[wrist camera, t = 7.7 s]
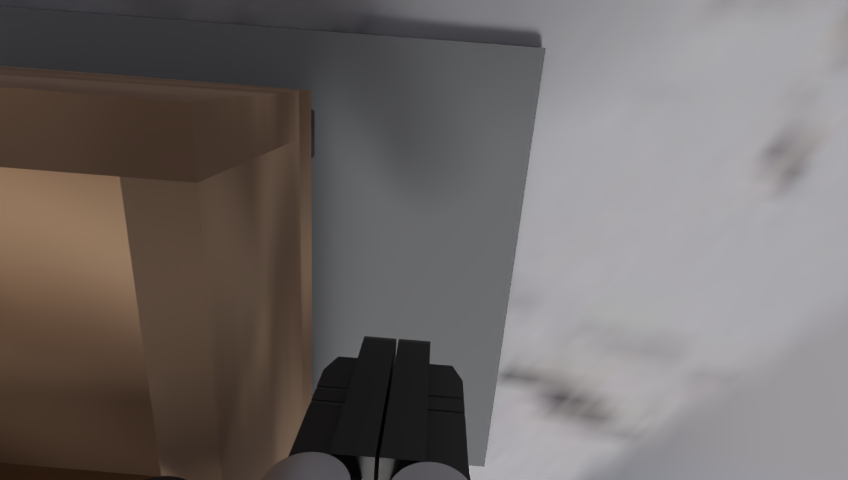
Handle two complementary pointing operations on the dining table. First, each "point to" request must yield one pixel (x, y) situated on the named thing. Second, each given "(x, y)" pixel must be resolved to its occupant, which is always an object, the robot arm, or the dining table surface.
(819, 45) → the dining table surface
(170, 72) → the gray mat
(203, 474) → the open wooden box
